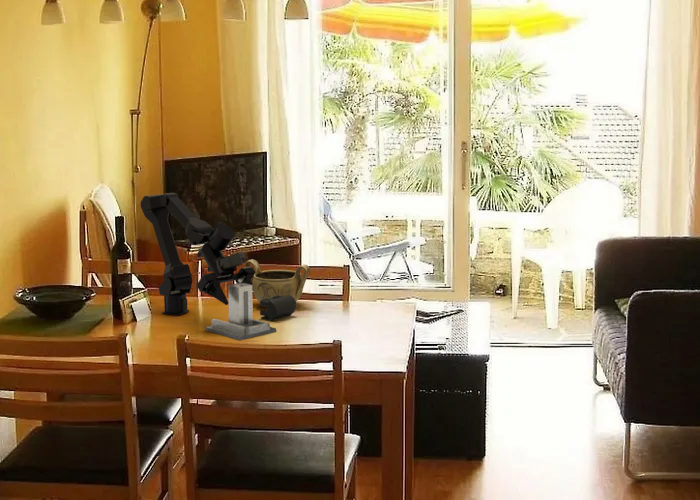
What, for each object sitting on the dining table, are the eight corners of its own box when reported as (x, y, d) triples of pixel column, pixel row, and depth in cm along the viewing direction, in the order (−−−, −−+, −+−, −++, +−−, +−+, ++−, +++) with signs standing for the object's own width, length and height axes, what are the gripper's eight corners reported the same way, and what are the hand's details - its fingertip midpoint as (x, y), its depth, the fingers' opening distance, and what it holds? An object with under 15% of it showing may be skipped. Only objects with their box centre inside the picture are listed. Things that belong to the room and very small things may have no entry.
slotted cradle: (205, 330, 304) (205, 320, 304) (241, 322, 314) (241, 312, 314) (239, 340, 293) (239, 330, 293) (276, 331, 303) (276, 321, 303)
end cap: (276, 323, 314) (275, 301, 313) (258, 319, 318) (258, 298, 317) (296, 317, 322) (296, 296, 321) (279, 313, 326) (279, 293, 325)
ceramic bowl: (235, 309, 332) (234, 263, 329) (259, 298, 347) (258, 255, 344) (297, 315, 323) (297, 269, 321) (319, 304, 339) (319, 260, 336)
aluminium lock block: (228, 327, 304) (228, 284, 301) (241, 324, 307) (241, 282, 305) (239, 330, 300) (239, 287, 298) (252, 327, 303) (252, 285, 301)
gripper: (202, 247, 296) (227, 290, 291) (251, 240, 310) (275, 281, 304) (186, 270, 303) (210, 312, 298) (235, 262, 316) (258, 302, 311)
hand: (239, 301), depth 302 cm, fingers open, 9 cm apart
